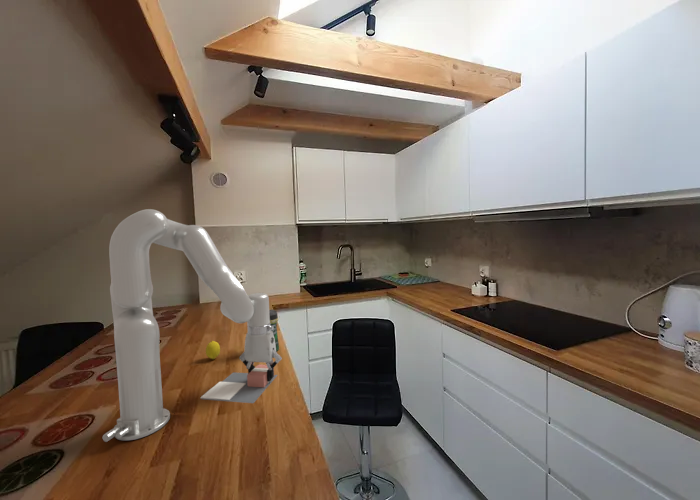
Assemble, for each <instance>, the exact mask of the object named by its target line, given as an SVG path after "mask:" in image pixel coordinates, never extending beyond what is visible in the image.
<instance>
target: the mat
mask: <svg viewBox="0 0 700 500" xmlns="http://www.w3.org/2000/svg"><path fill="white" fill-rule="evenodd" d="M247 375H248V372H236V371H235V372H232V373H230V374H229V375H228V376H227V377H226V378H225V379H223V380H222V381H221V382H235V383H246V384H245V385H244V386H243V387H242V388H241V389H240V390H239V391H238V392H237V393H236V394H235V395H234V396H233V397H232V398H231V399H230V400H217V399H204V398H201V400H205V401H207V400H208V401H218V402H219V401H220V402H232V403H244V404H245V403H246V404H254V403H255V402H256V401H257V400H258V399H259V398H260V397H261V395H262V394H263V393H264V392H265V391H266V389H268V387H269V386H271V384H272V383H273V381H274V380H275V379H276V378H277V376H278V374H274V377H273V378H272V379H271V381H270V382H269V383H268V384H267V385H266V386H265V387H249V386H248V383H247Z"/></svg>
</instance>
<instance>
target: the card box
mask: <svg viewBox="0 0 700 500" xmlns="http://www.w3.org/2000/svg"><path fill="white" fill-rule="evenodd" d="M267 370H268V367H267V365H266V364H257V365H256V366H255V368H254V369H253V370H252V371H251V372H250V373H249V374H248V375H247V383H248V386H249V387H265V386H266V385H267V384H268V383H269V382H268V381H267Z"/></svg>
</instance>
